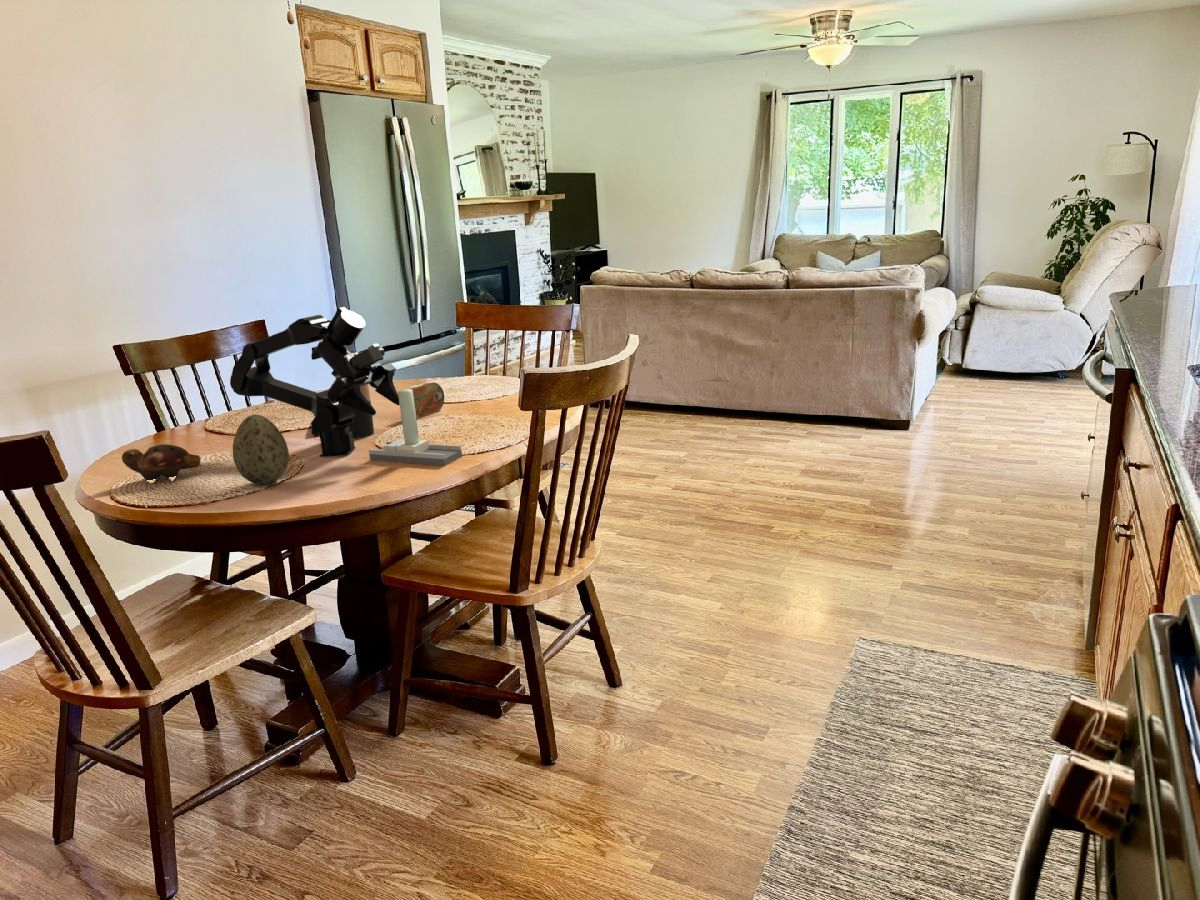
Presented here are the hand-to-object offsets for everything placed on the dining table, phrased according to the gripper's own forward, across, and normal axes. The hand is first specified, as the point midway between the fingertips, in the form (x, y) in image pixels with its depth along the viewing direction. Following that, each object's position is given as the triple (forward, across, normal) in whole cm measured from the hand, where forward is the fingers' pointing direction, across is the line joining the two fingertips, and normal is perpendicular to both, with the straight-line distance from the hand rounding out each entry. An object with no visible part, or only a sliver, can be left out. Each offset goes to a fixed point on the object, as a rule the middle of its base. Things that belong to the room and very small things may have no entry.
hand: (387, 408), depth 185 cm
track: (+12, 0, +4) cm, 13 cm away
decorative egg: (-3, -22, +20) cm, 30 cm away
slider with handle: (+11, 0, +3) cm, 11 cm away
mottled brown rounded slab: (-3, +36, +20) cm, 41 cm away
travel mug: (-7, +15, +23) cm, 29 cm away
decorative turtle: (-22, -25, +39) cm, 51 cm away
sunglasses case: (-16, +20, +34) cm, 43 cm away
